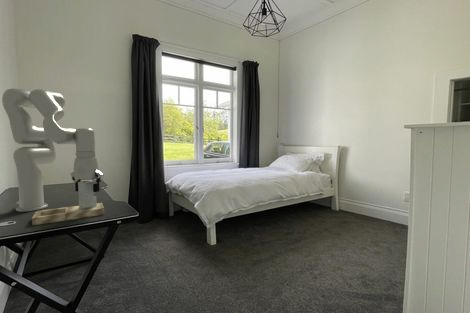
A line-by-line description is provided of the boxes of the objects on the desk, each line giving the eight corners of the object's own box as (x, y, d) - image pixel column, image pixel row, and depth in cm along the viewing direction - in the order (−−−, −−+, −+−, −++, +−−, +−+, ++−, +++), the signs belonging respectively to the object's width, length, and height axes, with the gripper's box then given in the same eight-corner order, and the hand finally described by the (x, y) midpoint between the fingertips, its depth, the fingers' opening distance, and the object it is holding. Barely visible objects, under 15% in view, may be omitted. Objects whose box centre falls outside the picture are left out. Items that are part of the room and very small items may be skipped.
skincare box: (85, 208, 111) (84, 182, 110) (78, 207, 112) (77, 182, 111) (97, 205, 116) (96, 180, 115) (90, 204, 118) (89, 180, 117)
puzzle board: (32, 225, 98) (31, 217, 98) (36, 217, 108) (36, 210, 108) (104, 214, 113) (104, 207, 112) (102, 208, 123) (102, 202, 122)
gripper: (63, 155, 111) (65, 192, 112) (95, 155, 107) (97, 193, 108) (77, 154, 118) (78, 189, 119) (107, 154, 114) (109, 190, 116)
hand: (87, 191), depth 114 cm, fingers open, 9 cm apart
